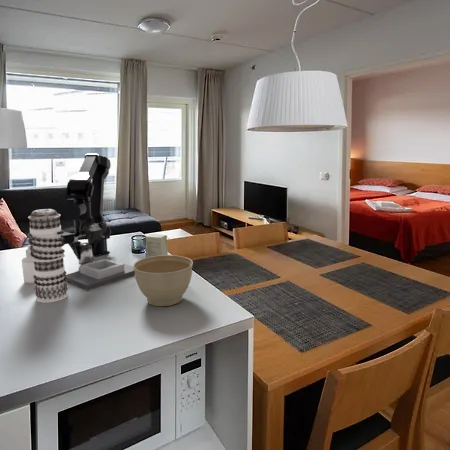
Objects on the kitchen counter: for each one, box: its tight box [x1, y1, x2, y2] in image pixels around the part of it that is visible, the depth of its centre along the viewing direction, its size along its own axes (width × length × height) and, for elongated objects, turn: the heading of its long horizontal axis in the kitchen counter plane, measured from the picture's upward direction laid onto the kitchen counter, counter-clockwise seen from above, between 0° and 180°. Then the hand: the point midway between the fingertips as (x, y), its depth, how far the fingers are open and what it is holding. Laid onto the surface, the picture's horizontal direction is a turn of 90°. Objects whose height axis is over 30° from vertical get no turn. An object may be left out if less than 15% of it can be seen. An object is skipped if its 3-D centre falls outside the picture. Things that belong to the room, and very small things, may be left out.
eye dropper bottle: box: [21, 244, 35, 285], centre depth 117 cm, size 4×6×12 cm
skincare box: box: [145, 233, 169, 258], centre depth 130 cm, size 6×4×12 cm
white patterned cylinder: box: [27, 208, 69, 304], centre depth 105 cm, size 9×9×25 cm
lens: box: [78, 241, 94, 266], centre depth 134 cm, size 5×5×7 cm
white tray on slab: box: [65, 258, 135, 291], centre depth 124 cm, size 20×14×4 cm
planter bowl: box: [132, 254, 194, 307], centre depth 105 cm, size 16×16×11 cm
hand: (85, 257), depth 134 cm, fingers closed on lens, 5 cm apart
